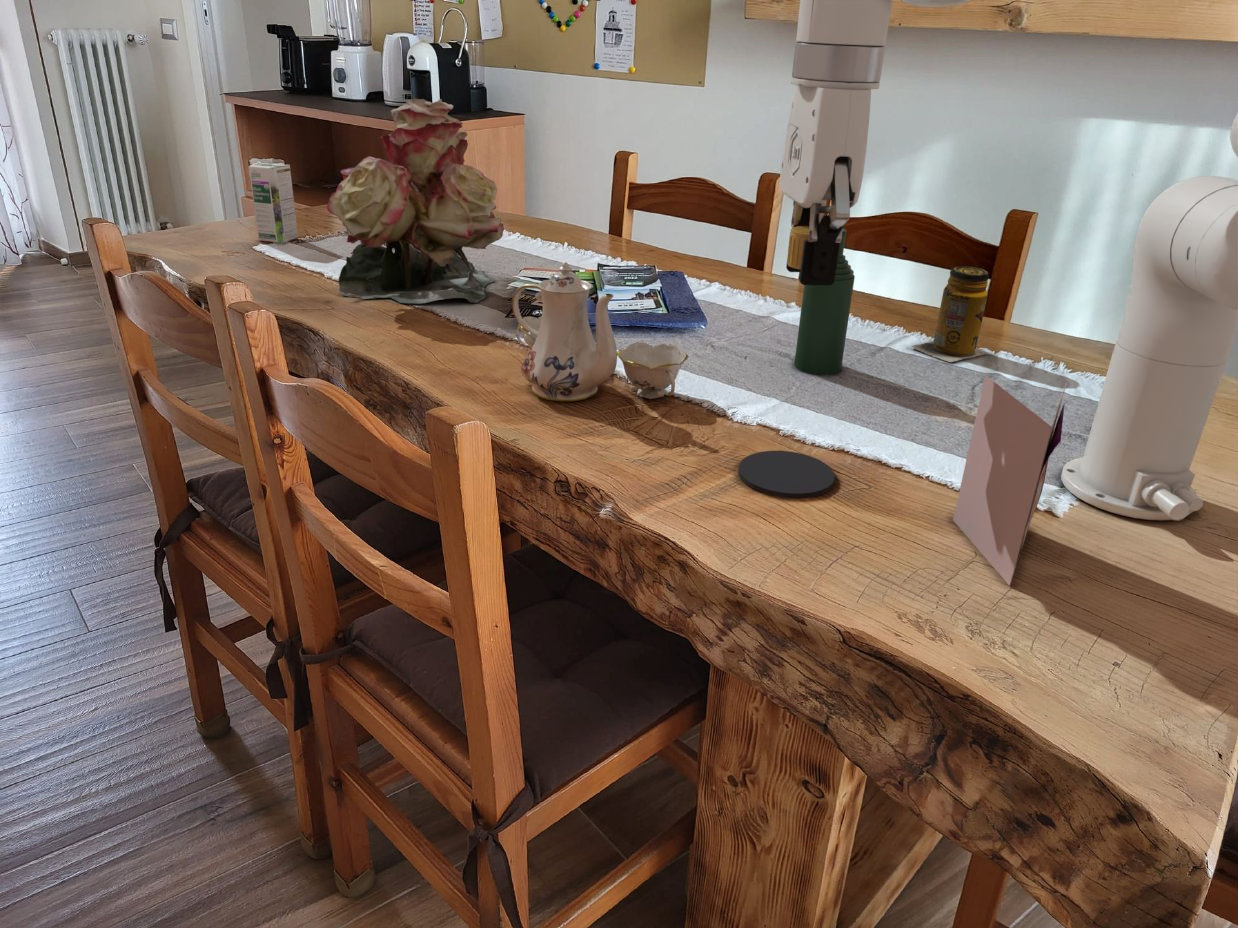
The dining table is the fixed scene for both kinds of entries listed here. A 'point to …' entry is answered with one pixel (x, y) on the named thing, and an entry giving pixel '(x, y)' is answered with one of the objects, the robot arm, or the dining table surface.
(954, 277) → the condiment
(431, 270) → the rose bouquet
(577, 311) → the chinaware
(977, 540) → the greeting card
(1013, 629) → the dining table surface
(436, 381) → the dining table surface
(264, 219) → the syrup box
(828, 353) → the bottle
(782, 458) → the coaster
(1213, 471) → the dining table surface
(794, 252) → the cap
